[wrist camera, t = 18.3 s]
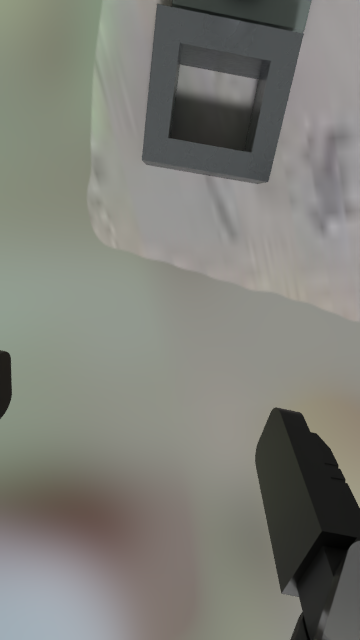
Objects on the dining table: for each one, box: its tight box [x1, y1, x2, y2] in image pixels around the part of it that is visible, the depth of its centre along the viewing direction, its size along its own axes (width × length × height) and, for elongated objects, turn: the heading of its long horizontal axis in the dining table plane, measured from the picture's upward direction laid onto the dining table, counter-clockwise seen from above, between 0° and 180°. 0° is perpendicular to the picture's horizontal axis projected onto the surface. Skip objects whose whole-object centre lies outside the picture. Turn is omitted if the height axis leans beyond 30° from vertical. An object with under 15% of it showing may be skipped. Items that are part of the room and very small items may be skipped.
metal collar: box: [142, 4, 303, 184], centre depth 33 cm, size 14×13×5 cm
